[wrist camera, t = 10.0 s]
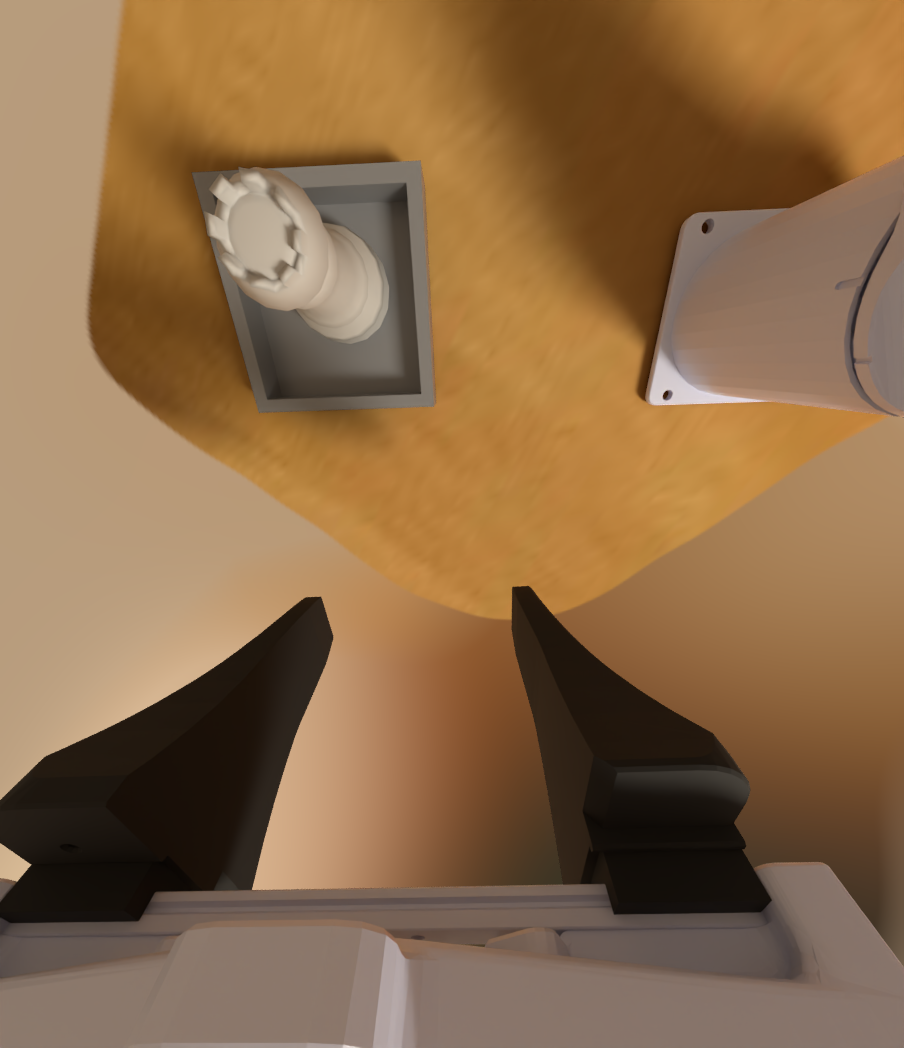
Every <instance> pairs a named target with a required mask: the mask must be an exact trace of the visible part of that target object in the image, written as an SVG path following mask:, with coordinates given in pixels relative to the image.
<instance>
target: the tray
mask: <svg viewBox="0 0 904 1048" xmlns="http://www.w3.org/2000/svg"><path fill="white" fill-rule="evenodd" d="M268 169H269V170H274V171H279V172H281V173H282V174H283V175H285V176H286V177H287V178H289V179H290V180H292V181H293V182H294V183H296V184H297V185H298V186H300V187H301V188H302V189H303V190H304V192H305V193H306V195H307V196H308V197H309V199H310V200H311V202H312V203H313V205H314V206H315V208H316V209H317V210H318V212H319V214H320V217H321V220H322V223H328V224H334V225H339V226H344V227H347V228H348V229H350V230H351V231H352V232H354V233H355V234H357V235H358V236H359V237H361V238H362V239H363V240H365V242H366V243H368V244H369V245H370V246H371V247H372V249H373V250H374V252H375V253H376V255H377V256H378V258H379V259H380V261H381V262H382V264H383V266H384V270H385V274H386V277H387V281H388V285H389V300H388V310H387V313H386V315H385V317H384V319H383V322H382V324H381V326H380V328H379V329H378V330H377V331H375V332H374V333H373V334H372V335H371V336H370V337H369V338H368V339H366V340H363V341H359V342H356V343H353V344H347V343H341V342H335V341H332V340H330V339H328V338H326V337H324V336H323V335H321V334H319V333H318V332H316V331H315V330H313V329H312V328H310V327H309V326H308V324H307V323H306V322H305V321H304V319H303V318H302V317H301V316H300V314H299V313H298V312H297V310H296V309H293V310H290V311H283V310H278V309H272V308H266V307H265V306H263V305H262V304H260V303H258V302H257V301H255V300H254V299H252V298H250V297H249V296H247V295H246V294H245V293H244V292H243V291H242V289H241V288H240V287H239V286H238V285H237V283H236V282H235V281H234V280H233V279H232V277H231V276H230V275H229V274H228V271H227V269H226V268H225V266H224V265H223V264H222V263H221V262H220V260H219V259H218V257H219V256H220V253H219V251H218V249H217V243H216V240H215V239H213V238H212V237H210V240H211V243H212V247H213V251H214V254H215V258H216V261H217V265H218V268H219V272H220V276H221V279H222V283H223V286H224V290H225V293H226V297H227V301H228V304H229V308H230V311H231V315H232V318H233V322H234V326H235V329H236V333H237V336H238V340H239V343H240V347H241V351H242V354H243V358H244V361H245V365H246V368H247V372H248V376H249V379H250V383H251V386H252V390H253V393H254V397H255V401H256V404H257V408H258V411H259V413H263V412H292V411H320V410H349V409H377V408H405V407H434V405H435V403H436V393H435V374H434V354H433V335H432V316H431V297H430V278H429V259H428V240H427V221H426V202H425V185H424V179H423V173H422V167H421V161H404V162H384V163H365V164H346V165H326V166H307V167H287V168H268ZM220 173H221V174H222V175H223V176H224V177H226V178H227V179H228V180H230V179H231V177H232V176H233V175H234V174H237V173H239V170H229V171H210V172H192V176H193V179H194V183H195V186H196V190H197V193H198V197H199V201H200V204H201V208H202V211H203V215H204V211H205V212H207V213H210V214H212V215H214V214H215V210H216V205H217V200H218V198H217V197H216V196H215V195H214V194H213V193H212V192H211V191H210V190H209V188H210V186H211V185H212V184H213V182H214V181H215V180H216V178H217V177H218V176H219V174H220ZM204 218H205V215H204Z"/></svg>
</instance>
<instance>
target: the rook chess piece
mask: <svg viewBox="0 0 904 1048" xmlns="http://www.w3.org/2000/svg"><path fill="white" fill-rule="evenodd" d="M238 168H239V173H237V174H234V175H233V176H232V177H231V179H230V180H228V179H227V178H226V177H224V176H223V175H222V174H221V173H220V174H219V176H218V177H217V178H216V180H215V181H214V182H213V184H212V185H211V186H210V188H209V190H210V191H211V192H212V193H213V194H214V195H215V196H216V197H217V198H218V200H217V205H216V210H215V214H214V215H212V214H210V213H207V212H205V211H204V215H205V222H206V230H207V235H208V236H210V237H212V238H213V239H215V240H216V243H217V249H218V251H219V253H220V256H219V257H218V259H219V260H220V262H221V263H222V264H223V265H224V266H225V268H226V269H227V271H228V274H229V275H230V276H231V277H232V279H233V280H234V281H235V282H236V283H237V285H238V286H239V287H240V288H241V289H242V291H243V292H244V293H245V294H246V295H247V296H249V297H250V298H252V299H254V300H255V301H257V302H258V303H260V304H262V305H263V306H265V307H266V308H272V309H278V310H283V311H290V310H293V309H296V310H297V312H298V313H299V314H300V316H301V317H302V318H303V319H304V321H305V322H306V323H307V324H308V326H309V327H310V328H312V329H313V330H315V331H316V332H318V333H319V334H321V335H323V336H324V337H326V338H328V339H330V340H332V341H335V342H341V343H347V344H353V343H356V342H359V341H363V340H366V339H368V338H369V337H370V336H371V335H372V334H373V333H374V332H375V331H377V330H378V329H379V328H380V326H381V324H382V322H383V319H384V317H385V315H386V313H387V310H388V300H389V285H388V281H387V277H386V274H385V270H384V266H383V264H382V262H381V261H380V259H379V258H378V256H377V255H376V253H375V252H374V250H373V249H372V247H371V246H370V245H369V244H368V243H366V242H365V240H363V239H362V238H361V237H359V236H358V235H357V234H355V233H354V232H352V231H351V230H350V229H348V228H347V227H344V226H339V225H334V224H328V223H322V220H321V217H320V214H319V212H318V210H317V209H316V208H315V206H314V205H313V203H312V202H311V200H310V199H309V197H308V196H307V195H306V193H305V192H304V190H303V189H302V188H301V187H300V186H298V185H297V184H296V183H294V182H293V181H292V180H290V179H289V178H287V177H286V176H285V175H283V174H282V173H281V172H279V171H274V170H269V169H264V168H259V167H253V168H250V169H247V168H242V167H238Z"/></svg>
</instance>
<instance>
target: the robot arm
mask: <svg viewBox="0 0 904 1048" xmlns="http://www.w3.org/2000/svg"><path fill="white" fill-rule="evenodd" d="M704 222H706V223H707V225H708V230H707V232H706V234H704V233H703V232H702V225H703V223H704ZM665 391H668V396H667V398H666V399H663V394H664V392H665ZM645 399H646V402H647V403H648V404H651V405H679V404H708V403H737V402H765V401H772V402H781V403H789V404H798V405H806V406H814V407H823V408H831V409H840V410H848V411H857V412H865V413H873V414H882V415H890V416H900V417H903V418H904V156H902V157H899V158H897V159H895V160H893V161H891V162H889V163H887V164H884V165H882V166H880V167H878V168H876V169H874V170H871V171H869V172H867V173H865V174H863V175H861V176H859V177H856V178H854V179H852V180H850V181H848V182H846V183H843V184H841V185H839V186H837V187H835V188H833V189H830V190H828V191H826V192H824V193H822V194H820V195H818V196H815V197H813V198H811V199H809V200H807V201H805V202H802V203H800V204H798V205H796V206H794V207H792V208H782V209H761V210H740V211H719V212H699V213H695V214H693V215H692V216H690V217H689V218H687V219H686V220H685V222H684V223H683V224H682V227H681V229H680V234H679V238H678V243H677V248H676V253H675V257H674V262H673V267H672V272H671V276H670V281H669V286H668V291H667V295H666V300H665V305H664V310H663V314H662V319H661V324H660V329H659V333H658V338H657V343H656V348H655V352H654V357H653V362H652V367H651V371H650V376H649V381H648V386H647V390H646V395H645ZM512 634H513V640H514V646H515V651H516V657H517V660H518V663H519V668H520V671H521V675H522V678H523V682H524V685H525V689H526V692H527V696H528V699H529V703H530V707H531V710H532V714H533V717H534V722H535V726H536V731H537V736H538V741H539V746H540V752H541V757H542V763H543V768H544V774H545V779H546V785H547V790H548V796H549V802H550V808H551V814H552V820H553V826H554V832H555V837H556V844H557V850H558V856H559V863H560V868H561V875H562V881H563V885H525V886H524V885H520V886H468V887H467V886H464V887H412V888H411V887H410V888H409V887H408V888H351V889H300V890H299V889H296V890H252V887H253V883H254V879H255V875H256V870H257V866H258V862H259V858H260V854H261V850H262V846H263V842H264V838H265V834H266V831H267V827H268V823H269V820H270V816H271V813H272V808H273V805H274V802H275V798H276V795H277V792H278V788H279V785H280V781H281V778H282V775H283V772H284V768H285V765H286V762H287V759H288V756H289V753H290V750H291V747H292V744H293V741H294V738H295V735H296V733H297V730H298V727H299V725H300V722H301V720H302V717H303V716H304V713H305V711H306V709H307V706H308V704H309V702H310V700H311V697H312V695H313V692H314V690H315V688H316V686H317V683H318V681H319V679H320V676H321V674H322V672H323V669H324V667H325V665H326V662H327V659H328V655H329V652H330V648H331V645H332V641H333V634H332V631H331V627H330V624H329V621H328V618H327V614H326V612H325V608H324V604H323V601H322V598H321V597H306V598H304V599H303V600H301V601H300V602H299V603H298V604H296V605H295V606H294V607H292V608H291V609H290V610H289V611H287V612H286V613H285V614H284V615H283V616H282V617H280V618H279V619H278V620H276V622H274V623H273V624H272V625H271V626H269V627H268V628H267V629H265V630H264V631H263V632H262V633H261V634H259V635H258V636H257V637H255V638H254V639H253V640H251V641H250V642H249V643H247V644H246V645H245V646H244V647H242V648H241V649H240V650H238V651H237V652H236V653H234V654H233V655H231V656H230V657H229V658H227V659H226V660H224V661H223V662H222V663H220V664H219V665H217V666H216V667H214V668H213V669H211V670H210V671H208V672H207V673H205V674H204V675H202V676H201V677H199V678H197V679H196V680H194V681H193V682H191V683H189V684H188V685H186V686H184V687H183V688H181V689H179V690H177V691H176V692H174V693H172V694H171V695H169V696H167V697H166V698H164V699H162V700H160V701H159V702H157V703H155V704H153V705H151V706H150V707H148V708H146V709H144V710H142V711H140V712H138V713H136V714H135V715H133V716H131V717H129V718H127V719H125V720H123V721H121V722H119V723H117V724H115V725H113V726H111V727H109V728H107V729H105V730H103V731H100V732H98V733H96V734H94V735H92V736H90V737H88V738H85V739H83V740H81V741H79V742H77V743H75V744H72V745H70V746H68V747H66V748H63V749H61V750H59V751H57V752H55V753H52V754H50V755H48V756H46V757H44V758H43V759H42V760H41V761H40V762H39V763H38V764H37V765H36V766H35V767H34V768H33V769H32V770H31V771H30V772H29V773H28V774H27V775H26V776H25V777H23V779H21V781H19V782H18V783H17V784H16V785H15V786H14V787H13V788H12V789H11V790H10V791H9V792H8V793H7V794H6V795H5V796H4V797H3V798H2V799H1V800H0V843H1V844H2V845H4V846H6V847H7V848H8V849H10V850H11V851H13V852H14V853H15V854H17V855H18V856H20V857H21V858H23V859H24V860H25V861H27V862H28V863H30V864H32V865H31V866H30V867H29V868H28V870H27V871H26V872H25V873H24V874H23V876H22V877H21V878H20V879H19V880H18V882H16V881H12V880H8V879H1V878H0V1048H904V967H903V966H902V964H901V963H900V961H899V960H898V959H897V957H896V956H895V955H894V953H893V952H892V951H891V949H890V948H889V947H888V945H887V944H886V943H885V941H884V940H883V939H882V937H881V936H880V935H879V933H878V932H877V931H876V929H875V928H874V926H873V925H872V924H871V922H870V921H869V920H868V918H867V917H866V916H865V914H864V913H863V912H862V910H861V909H860V908H859V907H858V905H857V904H856V902H855V901H854V900H853V898H852V897H851V896H850V894H849V893H848V892H847V890H846V889H845V888H844V886H843V885H842V884H841V882H840V881H839V880H838V878H837V877H836V876H835V874H834V873H833V872H832V870H831V869H830V868H829V866H828V865H825V864H824V863H822V862H800V863H798V862H797V863H769V864H764V865H760V866H757V867H756V868H754V869H753V868H752V866H751V864H750V862H749V861H748V859H747V857H746V856H745V854H744V852H743V851H742V849H745V847H746V844H745V841H744V839H743V837H742V836H741V834H740V833H739V831H738V829H737V828H736V826H735V824H734V821H735V820H736V818H737V817H738V815H739V813H740V812H741V810H742V809H743V807H744V805H745V804H746V802H747V799H748V796H749V793H750V786H749V781H748V780H747V778H746V777H745V776H744V774H743V773H742V771H741V770H740V768H739V767H738V766H737V764H736V763H735V761H734V760H733V758H732V757H731V756H730V754H729V753H728V752H727V750H726V749H725V748H724V747H723V745H721V743H720V742H719V741H718V740H717V738H716V737H715V736H714V734H713V733H711V732H710V731H708V730H706V729H704V728H702V727H701V726H699V725H697V724H695V723H693V722H692V721H690V720H688V719H686V718H684V717H683V716H681V715H679V714H677V713H675V712H674V711H672V710H670V709H668V708H667V707H665V706H664V705H662V704H660V703H659V702H657V701H656V700H654V699H652V698H651V697H649V696H648V695H646V694H645V693H643V692H642V691H640V690H638V689H637V688H636V687H634V686H633V685H631V684H630V683H629V682H627V681H626V680H625V679H623V678H622V677H620V676H619V675H618V674H616V673H615V672H613V671H612V670H611V669H610V668H608V667H607V666H606V665H604V664H603V663H602V662H601V661H600V660H598V659H597V658H596V657H595V656H594V655H593V654H591V653H590V652H589V651H588V650H587V649H586V648H585V647H584V646H583V645H581V644H580V643H579V642H578V641H577V640H576V639H575V638H574V637H573V636H572V635H571V634H570V633H569V632H568V631H567V630H566V629H565V628H564V627H563V625H562V624H561V623H560V622H559V621H558V620H557V619H556V618H555V617H554V616H553V614H552V613H551V612H550V611H549V610H548V609H547V607H546V606H545V605H544V604H543V603H542V601H541V600H540V599H539V598H538V596H537V595H536V594H535V592H534V591H533V590H532V588H530V587H529V586H521V587H512ZM458 944H486V945H485V947H476V946H467V945H458Z"/></svg>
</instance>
